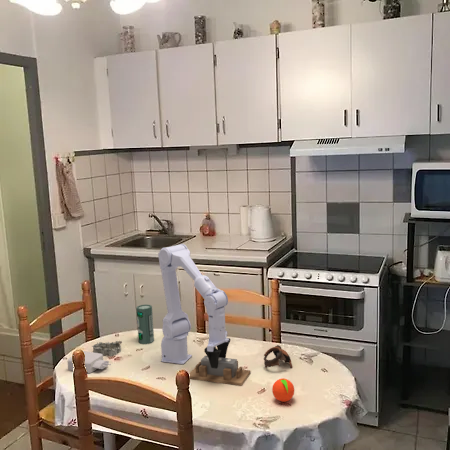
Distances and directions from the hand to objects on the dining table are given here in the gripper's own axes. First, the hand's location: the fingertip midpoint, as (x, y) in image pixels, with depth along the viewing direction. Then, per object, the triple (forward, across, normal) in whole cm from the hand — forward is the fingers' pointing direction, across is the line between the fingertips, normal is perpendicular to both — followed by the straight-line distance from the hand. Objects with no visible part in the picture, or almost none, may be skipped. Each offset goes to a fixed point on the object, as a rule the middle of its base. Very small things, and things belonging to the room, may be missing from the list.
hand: (218, 363), depth 179 cm
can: (+5, +22, +41) cm, 47 cm away
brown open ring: (+5, +14, -18) cm, 23 cm away
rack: (+5, 0, 0) cm, 5 cm away
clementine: (+5, -11, -26) cm, 29 cm away
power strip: (+4, 0, 0) cm, 4 cm away
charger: (+5, -7, +47) cm, 48 cm away
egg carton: (+5, +8, +51) cm, 52 cm away
